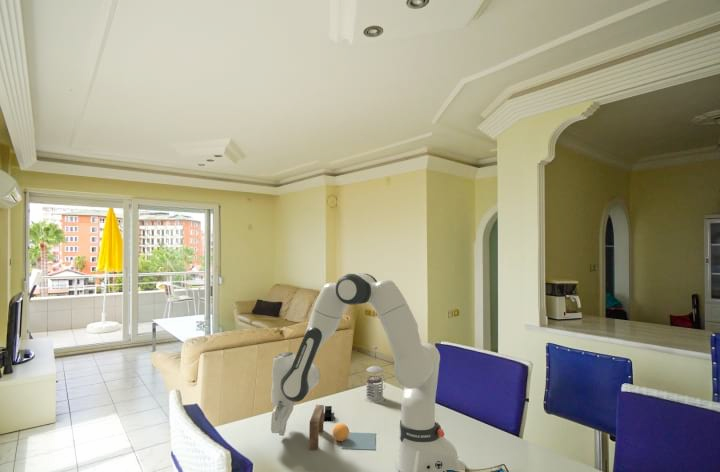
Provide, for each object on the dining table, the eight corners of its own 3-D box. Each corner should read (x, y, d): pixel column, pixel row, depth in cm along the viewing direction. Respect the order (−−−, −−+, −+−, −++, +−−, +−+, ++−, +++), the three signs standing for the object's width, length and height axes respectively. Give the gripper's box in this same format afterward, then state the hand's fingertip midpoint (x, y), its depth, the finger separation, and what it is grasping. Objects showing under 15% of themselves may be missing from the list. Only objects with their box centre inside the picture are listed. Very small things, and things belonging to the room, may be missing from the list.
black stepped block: (336, 425, 155) (336, 413, 156) (318, 425, 155) (318, 414, 155) (336, 412, 168) (336, 401, 168) (319, 412, 167) (319, 402, 167)
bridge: (323, 430, 150) (323, 405, 150) (317, 450, 135) (317, 422, 135) (315, 429, 150) (316, 404, 150) (309, 449, 135) (309, 422, 135)
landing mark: (375, 433, 147) (375, 433, 147) (375, 450, 135) (375, 449, 135) (344, 432, 148) (344, 432, 148) (341, 448, 136) (341, 448, 136)
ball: (331, 432, 145) (345, 438, 145) (329, 440, 139) (344, 447, 139) (337, 417, 145) (352, 424, 145) (335, 425, 139) (350, 431, 139)
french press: (375, 393, 189) (376, 342, 190) (391, 400, 180) (392, 347, 181) (360, 397, 183) (360, 345, 184) (375, 405, 174) (376, 350, 175)
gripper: (284, 408, 133) (283, 448, 133) (297, 387, 153) (296, 421, 153) (266, 407, 133) (266, 447, 133) (281, 386, 154) (280, 421, 153)
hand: (282, 433), depth 143 cm, fingers closed
